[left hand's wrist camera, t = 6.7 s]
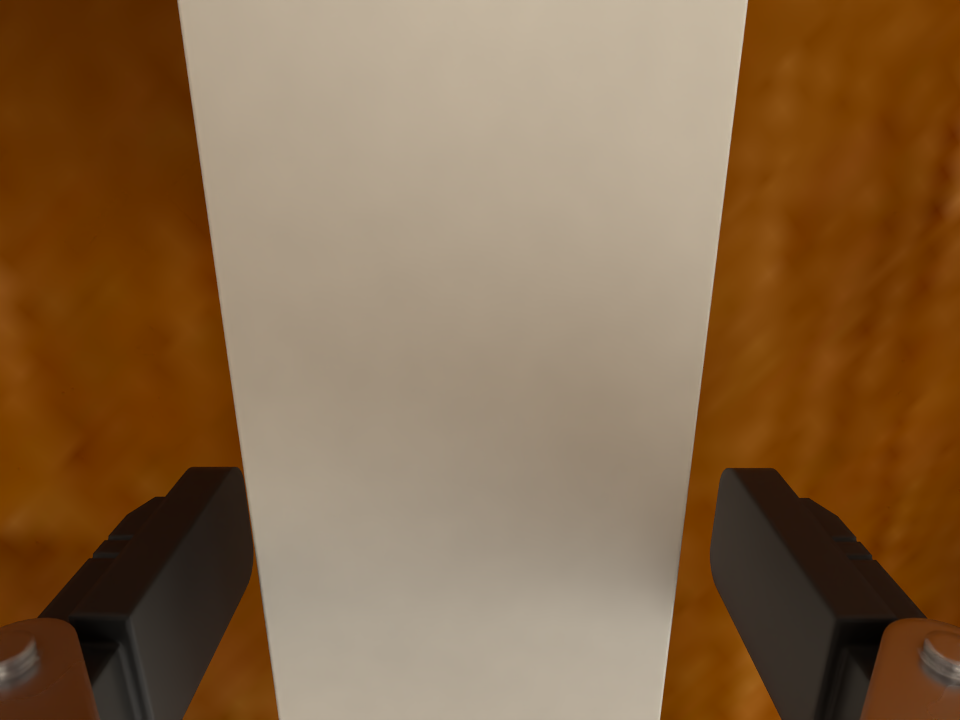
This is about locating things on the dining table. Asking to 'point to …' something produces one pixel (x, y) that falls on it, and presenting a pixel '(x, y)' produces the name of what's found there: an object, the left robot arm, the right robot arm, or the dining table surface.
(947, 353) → the dining table surface
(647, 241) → the bar
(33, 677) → the left robot arm
